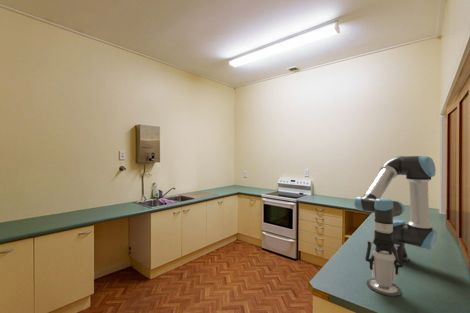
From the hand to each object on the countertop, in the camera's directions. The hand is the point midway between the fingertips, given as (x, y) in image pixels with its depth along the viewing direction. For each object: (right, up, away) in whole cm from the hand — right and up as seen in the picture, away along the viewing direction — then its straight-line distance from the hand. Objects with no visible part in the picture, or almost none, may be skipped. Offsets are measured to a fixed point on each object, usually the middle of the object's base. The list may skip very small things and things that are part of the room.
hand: (383, 278), depth 109 cm
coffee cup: (0, -2, 0) cm, 2 cm away
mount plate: (0, -4, 0) cm, 4 cm away
